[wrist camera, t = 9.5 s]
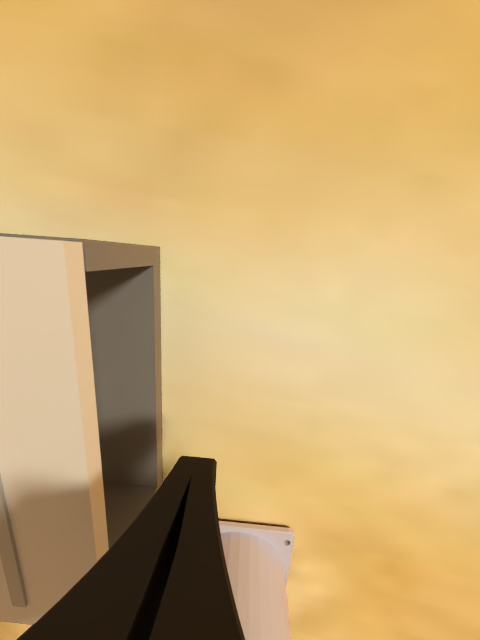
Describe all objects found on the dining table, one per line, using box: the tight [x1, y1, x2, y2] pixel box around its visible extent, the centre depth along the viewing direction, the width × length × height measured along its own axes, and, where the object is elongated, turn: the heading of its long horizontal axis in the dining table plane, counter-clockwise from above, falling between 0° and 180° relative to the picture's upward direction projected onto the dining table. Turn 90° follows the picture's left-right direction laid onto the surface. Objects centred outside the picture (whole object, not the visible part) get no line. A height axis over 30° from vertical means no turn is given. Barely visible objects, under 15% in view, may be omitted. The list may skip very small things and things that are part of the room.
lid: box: [0, 236, 109, 625], centre depth 9 cm, size 17×7×1 cm, turn 176°
